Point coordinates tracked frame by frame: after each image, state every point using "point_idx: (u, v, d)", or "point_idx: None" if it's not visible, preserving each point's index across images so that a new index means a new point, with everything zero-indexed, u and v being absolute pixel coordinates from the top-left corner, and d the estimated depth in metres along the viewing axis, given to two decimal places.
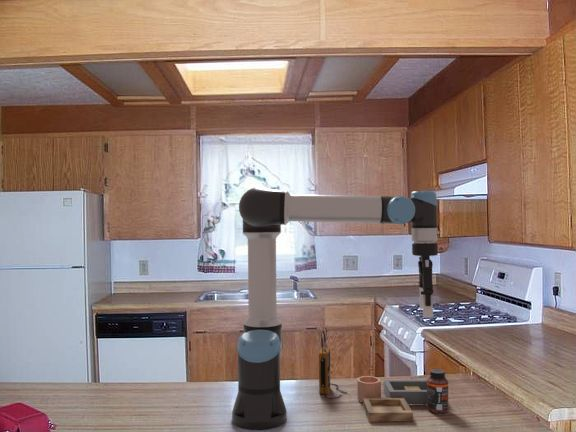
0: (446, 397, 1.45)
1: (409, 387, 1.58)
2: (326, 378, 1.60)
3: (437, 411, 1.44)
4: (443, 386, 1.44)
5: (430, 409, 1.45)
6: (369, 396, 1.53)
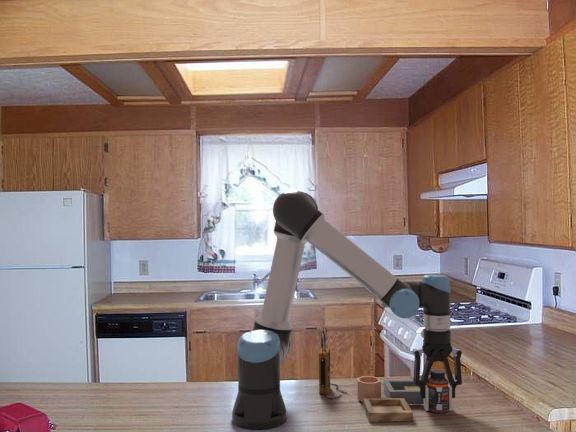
0: (446, 397, 1.45)
1: (409, 387, 1.58)
2: (326, 378, 1.60)
3: (437, 411, 1.44)
4: (443, 386, 1.44)
5: (430, 409, 1.45)
6: (369, 396, 1.53)
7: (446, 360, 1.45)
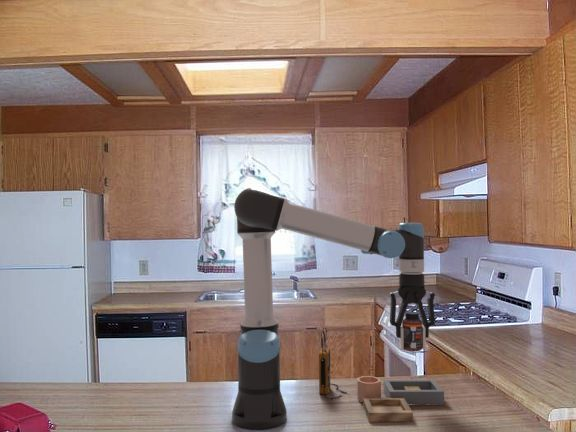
0: (420, 336, 1.54)
1: (409, 387, 1.58)
2: (326, 378, 1.60)
3: (411, 349, 1.54)
4: (417, 325, 1.54)
5: (405, 348, 1.55)
6: (369, 396, 1.53)
7: (420, 302, 1.55)
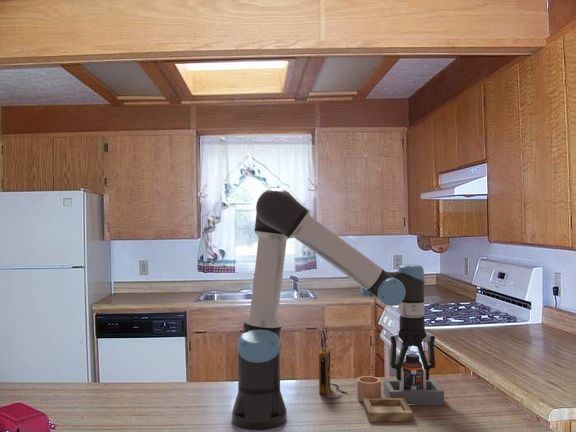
0: (420, 379, 1.54)
1: None
2: (326, 378, 1.60)
3: None
4: (417, 369, 1.54)
5: None
6: (369, 396, 1.53)
7: (420, 345, 1.55)
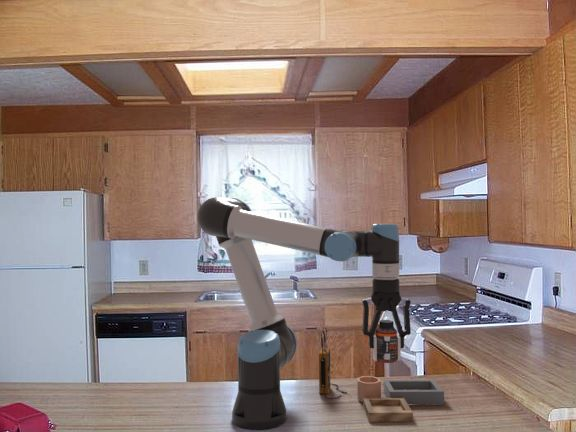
0: (394, 347, 1.43)
1: None
2: (326, 378, 1.60)
3: (385, 361, 1.42)
4: (391, 335, 1.42)
5: (378, 359, 1.43)
6: (369, 396, 1.53)
7: (394, 309, 1.43)
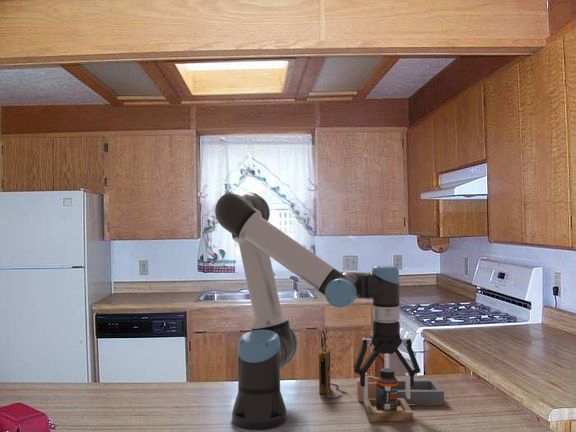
0: (395, 396, 1.42)
1: None
2: (326, 378, 1.60)
3: None
4: (391, 385, 1.42)
5: (378, 408, 1.43)
6: (369, 396, 1.53)
7: (397, 351, 1.43)
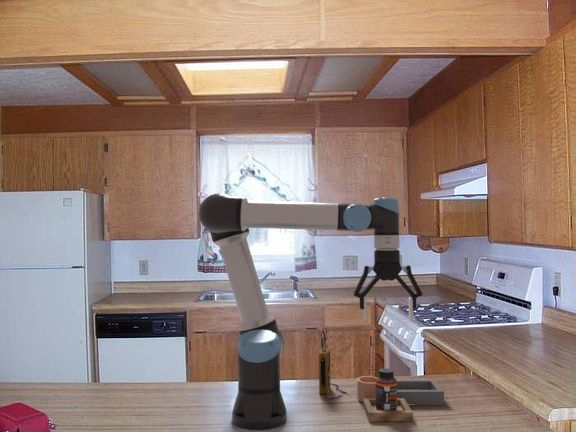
0: (394, 397, 1.42)
1: None
2: (326, 378, 1.60)
3: None
4: (391, 385, 1.42)
5: (378, 409, 1.43)
6: (369, 396, 1.53)
7: (398, 277, 1.51)
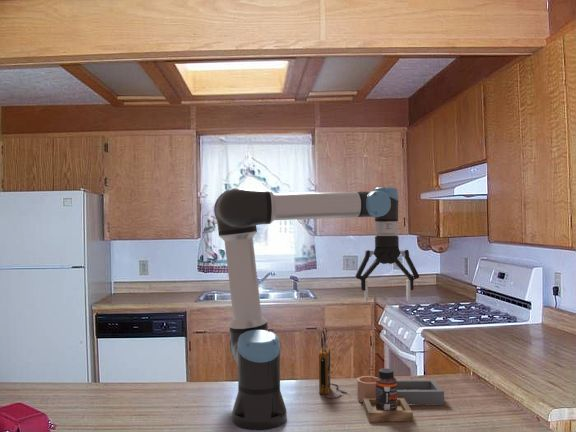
0: (394, 397, 1.42)
1: None
2: (326, 378, 1.60)
3: None
4: (391, 385, 1.42)
5: (378, 409, 1.43)
6: (369, 396, 1.53)
7: (397, 260, 1.63)
